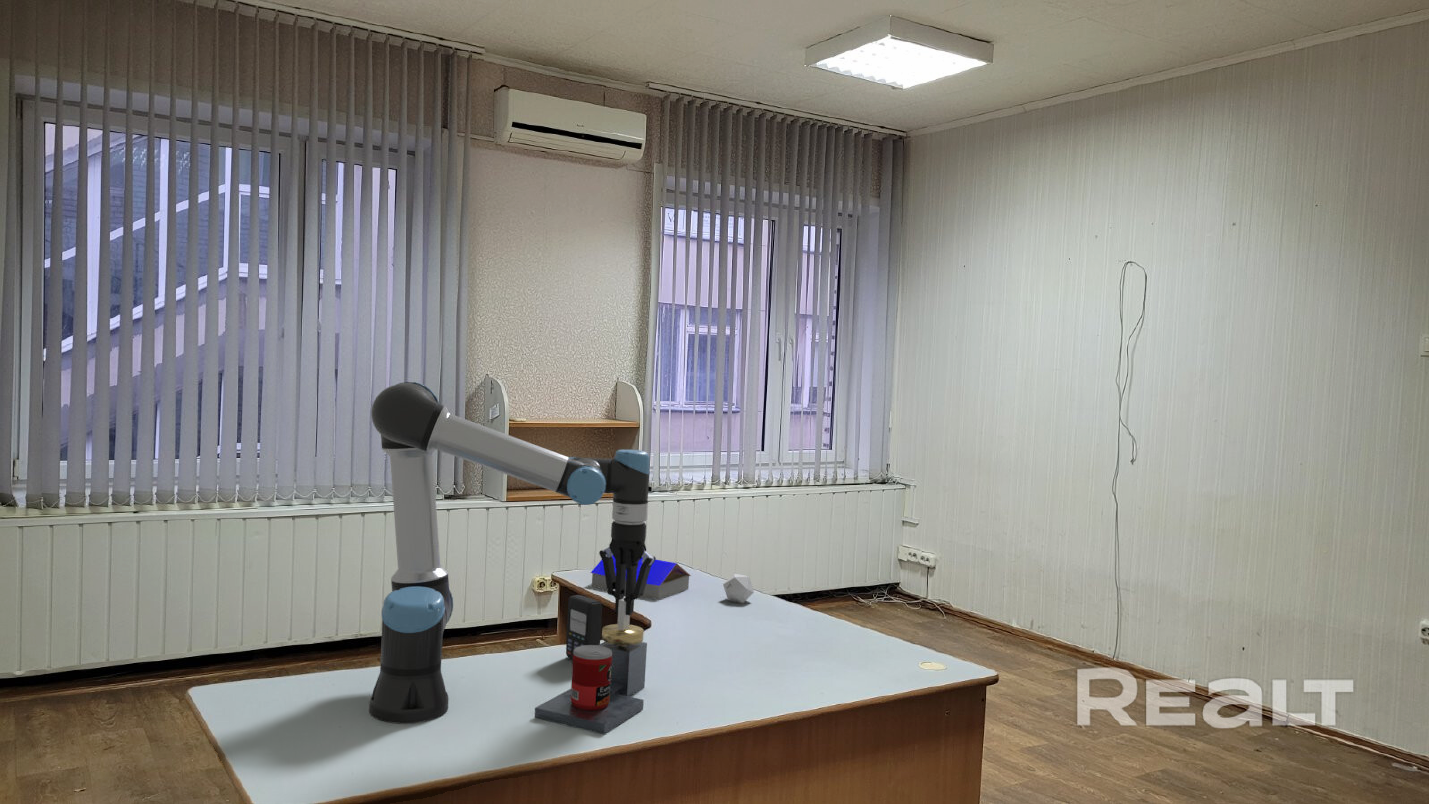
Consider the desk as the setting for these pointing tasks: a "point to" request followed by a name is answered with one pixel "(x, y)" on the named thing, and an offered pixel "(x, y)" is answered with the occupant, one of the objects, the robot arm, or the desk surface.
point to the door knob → (622, 635)
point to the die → (738, 588)
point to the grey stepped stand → (623, 685)
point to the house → (651, 578)
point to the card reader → (583, 623)
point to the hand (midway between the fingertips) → (623, 628)
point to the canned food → (591, 677)
